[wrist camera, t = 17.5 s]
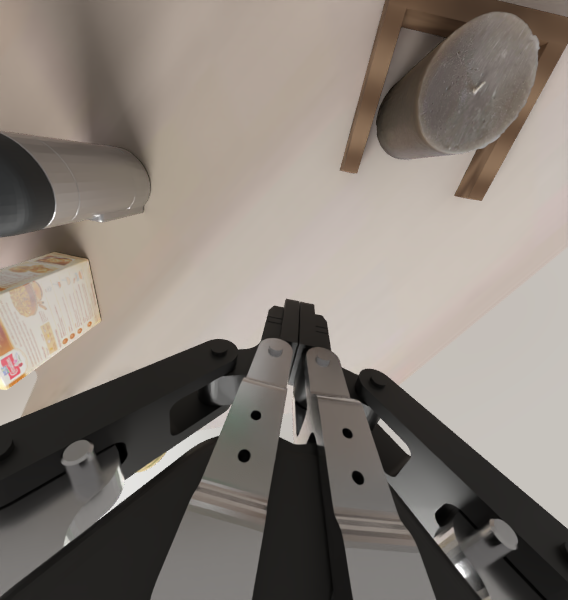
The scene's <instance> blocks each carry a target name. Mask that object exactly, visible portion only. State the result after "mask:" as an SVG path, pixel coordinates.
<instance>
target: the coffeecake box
mask: <svg viewBox="0 0 568 600" xmlns="http://www.w3.org/2000/svg"><path fill="white" fill-rule="evenodd" d="M99 322H101V318H100V313H99V308H98V303H97V298H96V294H95V289H94V284H93V279H92V275H91V270H90V265H89V260H88V259H85V258H80V257H75V256H70V255H66V254H62V253H57V252H53V253H50V254H46V255H43V256H40V257H37V258H34V259H30V260H27V261H24V262H21V263H18V264H15V265H12V266H8V267H5V268H2V269H0V389H3V390H7V389H9V388H10V387H11V386H13V385H14V384H15V383H17V382H18V381H19V380H21V379H22V378H24V377H25V376H27V375H28V374H29V373H31V372H32V371H33V370H35V369H36V368H38V367H39V366H40V365H42V364H43V363H44V362H46V361H47V360H49V359H50V358H51V357H53V356H54V355H55V354H57V353H58V352H60V351H61V350H62V349H64V348H65V347H66V346H68V345H69V344H71V343H72V342H73V341H75V340H76V339H77V338H79V337H80V336H82V335H83V334H84V333H86V332H87V331H88V330H90V329H91V328H93V327H94V326H95V325H97V324H98V323H99Z"/></svg>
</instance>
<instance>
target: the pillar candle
mask: <svg viewBox="0 0 568 600" xmlns="http://www.w3.org/2000/svg"><path fill="white" fill-rule="evenodd" d="M539 43H540V42H539V40H538V38H537V36H536V35H533V34H532V31H531V29H530V28H529V26H528V24H527V23H525V22H524V21H523V20H522V19H521V18H519V17H518V16H516V15H514V14H511V13H507V12H489V13H486V14H483V15H480V16H478V17H475V18H474V19H472V20H470V21H468V22H467V23H465V24H464V25H462V26H461V27H459V28H458V29H457V30H455V31H454V32H453V33H452V34H451V35H449V36H448V37H447V38H446V39H445V40H443V41H442V42H441V43H440V44H439V45H438V46H436V47H435V48H434V49H433V50H432V51H431V52H430V53H429V54H428V55H427V56H426V57H425V58H423V59H422V60H421V61H420V62H419V63H418V64H417V65H416V66H415V67H413V68H412V69H411V70H410V71H409V72H408V73H407V74H406V75H405V76H404V77H403V78H402V79H401V80H400V81H399V82H398V83H396V84H395V85H394V86H393V87H392V88H391V90H390V91H389V92H388V94H387V95H386V96H385V98H384V100H383V102H382V104H381V106H380V108H379V112H378V115H377V120H376V125H377V137H378V140H379V143H380V145H381V147H382V148H383V149H384V151H385V152H386V153H388V154H389V155H390V156H392V157H394V158H397V159H416V158H425V157H435V156H445V155H454V154H462V153H467V152H471V151H474V150H477V149H481V148H485V147H486V146H487V145H488V144H489V143H492V142H494V141H495V140H497V139H498V138H499V137H500V135H501V134H502V133H504V132H505V130H506V129H507V128H508V127H509V125H510V124H511V123H512V122H513V121H514V120H515V119H516V118H517V117H518V116H519V115H518V114H519V112H520V111H521V109H522V108H523V107H524V106H525V104H526V103H527V99H528V97H529V95H530V92H531V88H532V87H533V85H534V81H535V76H536V71H537V67H538V50H539V49H540V47H539Z"/></svg>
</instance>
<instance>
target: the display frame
mask: <svg viewBox="0 0 568 600" xmlns="http://www.w3.org/2000/svg"><path fill="white" fill-rule="evenodd" d="M489 12H507V13H511V14H514V15H516V16H518V17H519V18H521V19H522V20H523V21H524V22H525V23H527V24H528V26H529V28H530V29H531V31H532V34H533V35H536V36H537V38H538V40H539V42H540V43H539V47H540V49H539V50H538V67H537V71H536V76H535V81H534V85H533V87H532V88H531V92H530V95H529V97H528V99H527V103H526V104H525V106H524V107H523V108H522V109H521V111H520V112H519V114H518V115H519V116H518V117H517V118H516V119H515V120H514V121H513V122H512V123H511V124H510V125H509V127H508V128H507V129H506V130H505V132H504V133H502V134H501V135H500V137H499V138H498V139H497V140H495V141H494V142H492V143H489V144H488V145H487V146H486V147H485V148H481V149H477V150H476V153H475V155H474V157H473V159H472V161H471V163H470V165H469V167H468V169H467V171H466V173H465V175H464V177H463V179H462V181H461V183H460V185H459V187H458V189H457V191H456V193H455V195H454V196H458V197H462V198H467V199H473V200H480V201H482V199H483V197H484V196H485V194H486V192H487V190H488V188H489V186H490V185H491V183H492V181H493V179H494V177H495V175H496V174H497V172H498V170H499V168H500V166H501V164H502V163H503V161H504V159H505V157H506V155H507V154H508V152H509V150H510V148H511V146H512V144H513V143H514V141H515V139H516V137H517V135H518V133H519V132H520V130H521V128H522V126H523V124H524V122H525V121H526V119H527V117H528V115H529V113H530V111H531V110H532V108H533V106H534V104H535V102H536V100H537V99H538V97H539V95H540V93H541V91H542V89H543V88H544V86H545V84H546V82H547V80H548V78H549V77H550V75H551V73H552V71H553V69H554V67H555V66H556V64H557V62H558V60H559V58H560V56H561V55H562V53H563V51H564V49H565V47H566V45H567V44H568V17H565V16H560V15H556V14H552V13H548V12H544V11H540V10H536V9H531V8H527V7H523V6H519V5H515V4H511V3H507V2H503V1H498V0H385V4H384V8H383V11H382V15H381V19H380V22H379V26H378V30H377V34H376V37H375V41H374V45H373V49H372V52H371V56H370V60H369V63H368V67H367V71H366V75H365V78H364V82H363V86H362V90H361V93H360V97H359V101H358V104H357V108H356V112H355V116H354V119H353V123H352V127H351V131H350V134H349V138H348V142H347V145H346V149H345V153H344V157H343V160H342V164H341V168H340V171H345V172H349V173H357V172H358V168H359V165H360V162H361V158H362V155H363V152H364V148H365V145H366V142H367V138H368V135H369V132H370V128H371V125H372V122H373V118H374V115H375V112H376V108H377V105H378V102H379V98H380V95H381V92H382V88H383V85H384V82H385V79H386V75H387V72H388V69H389V65H390V62H391V59H392V55H393V52H394V49H395V45H396V42H397V39H398V35H399V32H400V29H401V27H404V28H408V29H412V30H416V31H421V32H425V33H429V34H433V35H438V36H442V37H446V38H447V37H448V36H449V35H451V34H452V33H453V32H454V31H455V30H457V29H458V28H459V27H461V26H462V25H464V24H465V23H467V22H468V21H470V20H472V19H474V18H475V17H478V16H480V15H483V14H486V13H489Z"/></svg>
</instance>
